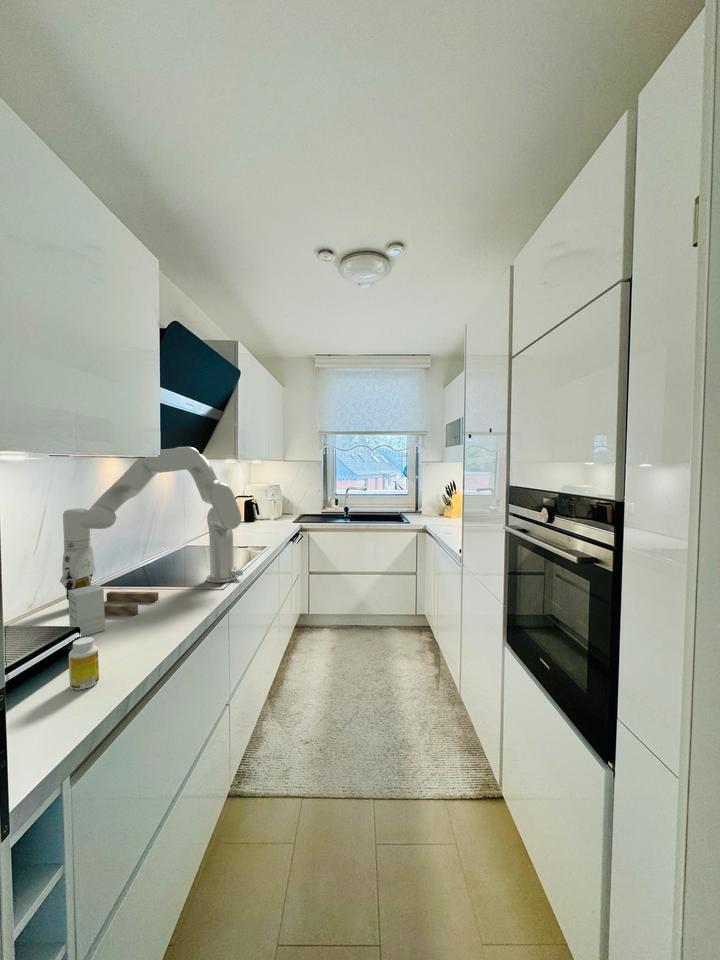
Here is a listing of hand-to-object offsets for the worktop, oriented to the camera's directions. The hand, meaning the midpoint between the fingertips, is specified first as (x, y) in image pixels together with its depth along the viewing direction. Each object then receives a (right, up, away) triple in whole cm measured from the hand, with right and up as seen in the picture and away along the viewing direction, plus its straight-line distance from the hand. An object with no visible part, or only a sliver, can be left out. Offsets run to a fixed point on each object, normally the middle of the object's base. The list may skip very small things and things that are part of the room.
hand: (79, 595), depth 146 cm
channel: (+15, -4, 0) cm, 15 cm away
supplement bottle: (+35, -7, -50) cm, 61 cm away
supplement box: (+16, -5, -20) cm, 26 cm away
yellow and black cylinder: (+1, -3, +1) cm, 4 cm away
